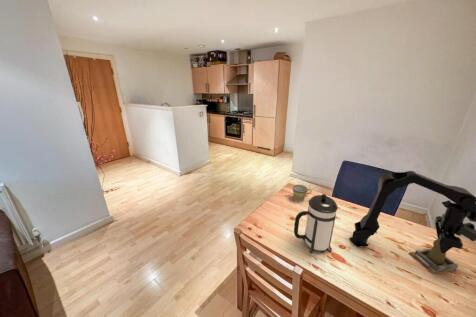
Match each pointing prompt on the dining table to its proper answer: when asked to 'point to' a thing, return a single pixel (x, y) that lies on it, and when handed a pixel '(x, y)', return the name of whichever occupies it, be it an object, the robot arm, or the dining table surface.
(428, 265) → the frame
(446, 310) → the dining table surface
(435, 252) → the olive tall rounded piece
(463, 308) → the dining table surface
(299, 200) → the ceramic cup
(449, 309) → the dining table surface
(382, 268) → the dining table surface
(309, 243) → the coffee press
